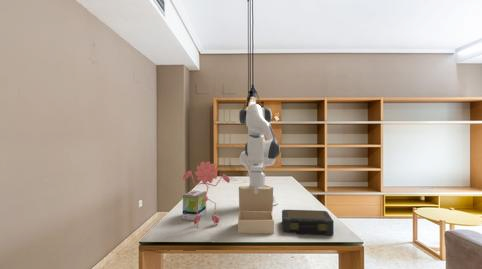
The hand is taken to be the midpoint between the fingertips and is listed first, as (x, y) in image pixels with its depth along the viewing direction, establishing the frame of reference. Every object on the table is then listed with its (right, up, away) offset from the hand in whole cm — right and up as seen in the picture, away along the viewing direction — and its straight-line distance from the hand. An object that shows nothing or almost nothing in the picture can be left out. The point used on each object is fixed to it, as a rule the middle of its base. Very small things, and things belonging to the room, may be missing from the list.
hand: (255, 193), depth 143 cm
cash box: (+27, -21, +7) cm, 35 cm away
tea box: (-36, -21, +29) cm, 51 cm away
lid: (0, -6, +9) cm, 11 cm away
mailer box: (0, -20, +6) cm, 21 cm away
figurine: (-27, -20, +15) cm, 37 cm away
